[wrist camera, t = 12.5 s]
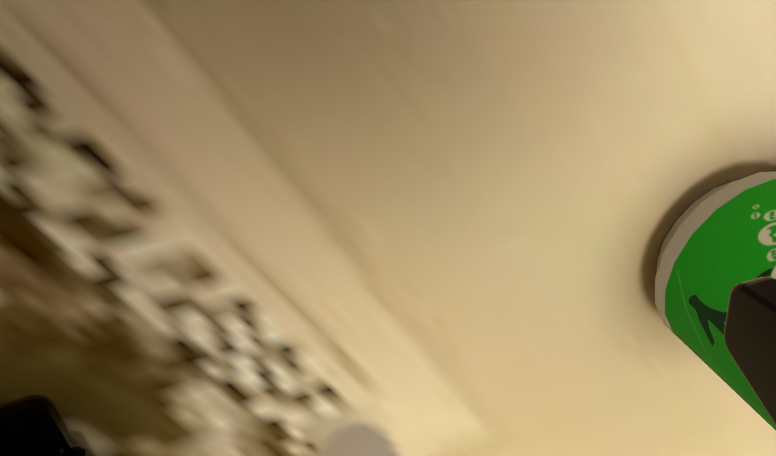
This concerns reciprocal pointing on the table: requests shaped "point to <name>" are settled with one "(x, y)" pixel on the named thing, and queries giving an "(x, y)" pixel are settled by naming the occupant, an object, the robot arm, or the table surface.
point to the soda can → (717, 269)
